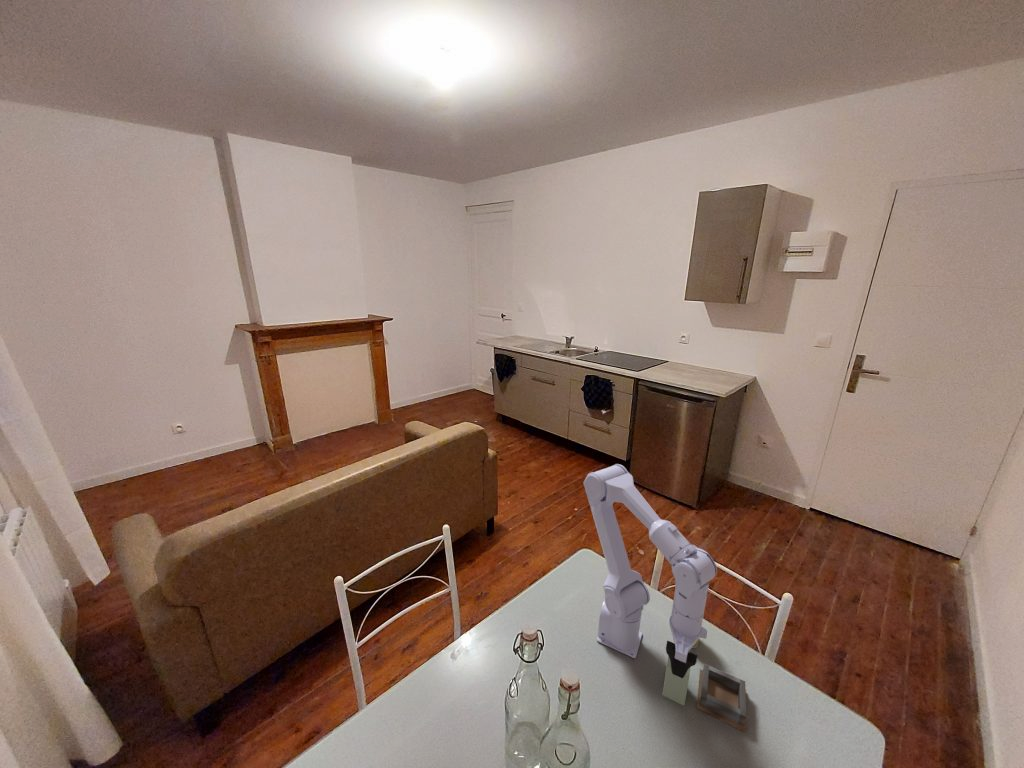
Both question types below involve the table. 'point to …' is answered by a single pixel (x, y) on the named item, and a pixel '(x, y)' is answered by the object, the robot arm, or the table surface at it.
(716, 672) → the grey square socket
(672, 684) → the peg
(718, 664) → the table surface
